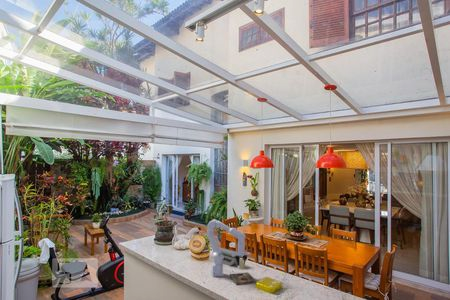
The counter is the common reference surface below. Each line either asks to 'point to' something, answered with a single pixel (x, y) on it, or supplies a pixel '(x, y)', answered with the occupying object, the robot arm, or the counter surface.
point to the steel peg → (241, 263)
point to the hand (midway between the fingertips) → (240, 265)
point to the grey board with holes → (242, 278)
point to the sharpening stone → (228, 256)
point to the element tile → (269, 285)
